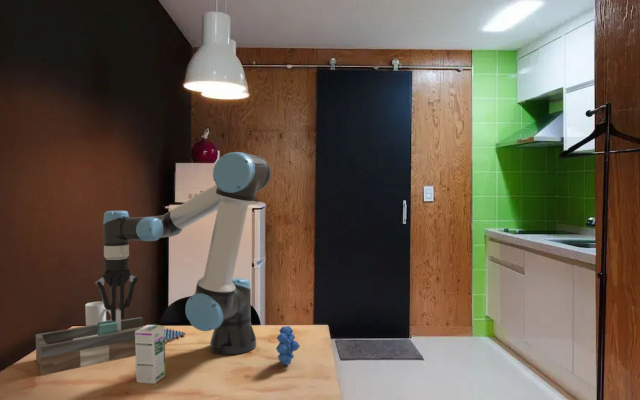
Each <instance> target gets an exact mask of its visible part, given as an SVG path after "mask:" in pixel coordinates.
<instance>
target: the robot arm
mask: <svg viewBox="0 0 640 400" xmlns="http://www.w3.org/2000/svg"><path fill="white" fill-rule="evenodd" d="M271 169H272V168H271V166H270V163H269V162H268V161H267V160H266V159H265V158H263V156H260V155H258V154H257V155H256V154H250V153H246V152H241V151H240V152H239V151H235V152H233V151H232V152H228V153H226V154H223V155H221V156H220V157H219V158H218V159H217V161H216V162H215V164H214V166H213V169H212V177H213V181H214V182H215V184H214V185H213V186H211V187H210V188H208V189H206V190H204V191H203V192H201V193H198V194H197V195H195V196H194V197H192V198H190V199H189V200H187V201H185V202H183V203H182V204H179V205H178V206H176V207H174V208H173V209H171V210H170V211H168V212H166V213H164V214H162V215H161V214H160V215H151V216H140V217H135V216H134V217H133V216H132V217H131V216H130V215H129V211H127V210H107V211H105V212H104V214H103V222H102V226H103V227H102V228H103V257H104V258H105V259H104V260H103V271H104V272H103V274H102V277H100V279H98V280H96V281H94V282H95V285H96V287H98V290H99V293H100V297H101V300H102V302H103V304H104V307H105V308H106V309H107V310H111V316H110V320H112V321H113V320H115V321H116V322H117V331H118V330H121V320H125V310H126V308H129V307H130V306H131V302H132V299H133V294H134V290H135V286H136V284H137V282H138V281H139V278H138V277H136V276H135V275H133V274H132V273H131V271H130V258H129V256H130V241H138V242H139V241H142V242H143V241H144V242H154V241H155V242H156V241H158V240H160V239H162V238H169V237H174V236H177V235H179V234H181V232H182V231H183V229H185V228H187V227H189V226H190V225H193V224H194V223H196V222H198V221H200V220H201V219H203V218H205V217H207V216H208V215H211V214H212V213H214V212H216V214H215V215H216V216H215V220H214V225H213V231H212V234H211V241H210V244H209V249H208V254H207V259H206V264H205V270H204V273H203V276H202V277H201V278H199V279H198V280H197V282H196V287H195V291H194V294H192V295H191V296H190V297H188V299H187V300H186V304H185V309H184V310H185V317H186V319H187V320H188V321H189V323H190V324H191V326H192V327H193V328H195V329H197V330H198V331H201V332H209V331H210V332H211V331H213V332H212V335H211V338H210V342H209V344H210V345H209V347H210V351H211V352H213V353H215V354H218V355H240V354H244V353H249V352H251V351H252V350H254V349H256V347H257V337H256V335H255V331H254V329H253V326H252V322H251V320H252V317H251V315H252V314H251V311H252V309H251V307H252V306H251V302H252V301H251V297H252V296H251V291H252V288H251V282H250V280H249V279H248V278H242V277H241V278H240V277H239V278H238V277H234V273H235V269H236V264H237V259H238V256H239V254H238V253H239V251H240V250H239V249H240V245H241V240H242V235H243V232H244V231H243V230H244V227H245V221H246V218H247V212H248V208H249V206H250V205H251V204H253V203H254V202H255V200H256V194H257V193H258V192H259V191H262V190H264V189H265V188H266V187H267V186H268V185H269V184H270V181H271V178H272V170H271ZM128 281H129V283H128V285H127V286H128V287H127V291H126V294H125V285H126V283H127V282H128ZM105 282H106V284H107V285H108V286H109V297H110V299H108V296H107V292H106V288H105V286H104V285H105ZM117 288H118V290H117ZM116 290H117V291H118V292H117V291H116ZM117 293H118V308H117ZM125 295H126V296H125Z"/></svg>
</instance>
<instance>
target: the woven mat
mask: <svg viewBox="0 0 640 400" xmlns="http://www.w3.org/2000/svg"><path fill="white" fill-rule="evenodd" d="M164 334H165V344H168V343H171V342H173V340H174V341H175V339H177V338H180V337H181V336H182V337H181V338H180V339H183V338H185V336H186V332H184V331H178V330H175V329H171V328H170V329H169V328H164Z"/></svg>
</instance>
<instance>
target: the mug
mask: <svg viewBox="0 0 640 400" xmlns="http://www.w3.org/2000/svg"><path fill="white" fill-rule="evenodd" d="M84 309H85V310H84V311H85V313H84V314H85V326H90V325H96V324H97V322H102V321H107V312H108V313H109V315H110V317H111V310H107V309H106V308H105V307H104V304H103V301H93V302H87V303H86V304H85V307H84Z"/></svg>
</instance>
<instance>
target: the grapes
mask: <svg viewBox="0 0 640 400" xmlns="http://www.w3.org/2000/svg"><path fill="white" fill-rule="evenodd" d="M293 332H294V330H293V329H292V327H291V326H289V325H284V326H282V327H281V328H280V329H279V334H278V336H276V339H277V341H278V342H279V343H278V345H277V346H276V348H275V349H276V351H277V353H278V356H277V359H278V360H279V362H280V363H281V364H282V365H284V366H288V365H289V364H290V363H291V362H292V359H294V357H295V355H294V352H295V351H298V350H299V348H300V346H301V345H300V344H299V342H298V341H297V340H295V338H296V336H295V334H294V333H293Z"/></svg>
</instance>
